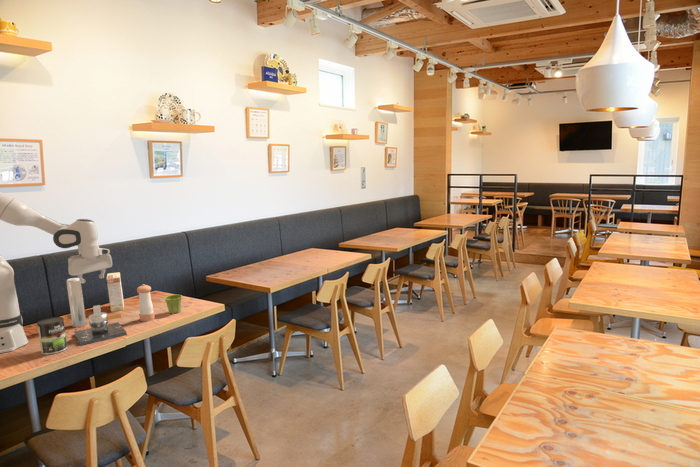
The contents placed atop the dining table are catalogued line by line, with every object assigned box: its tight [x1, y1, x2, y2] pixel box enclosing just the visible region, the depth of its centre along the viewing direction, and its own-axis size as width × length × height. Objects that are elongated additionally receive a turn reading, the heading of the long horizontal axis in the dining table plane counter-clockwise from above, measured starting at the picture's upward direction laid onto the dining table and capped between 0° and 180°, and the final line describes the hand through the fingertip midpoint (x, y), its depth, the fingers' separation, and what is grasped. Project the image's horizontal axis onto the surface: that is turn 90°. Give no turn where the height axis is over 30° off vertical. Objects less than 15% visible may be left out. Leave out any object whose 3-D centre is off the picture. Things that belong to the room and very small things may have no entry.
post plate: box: [74, 321, 128, 346], centre depth 234 cm, size 20×19×5 cm
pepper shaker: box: [136, 283, 156, 322], centre depth 253 cm, size 7×7×19 cm
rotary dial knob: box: [88, 304, 122, 328], centre depth 234 cm, size 14×10×9 cm
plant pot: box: [163, 294, 183, 314], centre depth 264 cm, size 9×9×9 cm
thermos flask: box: [66, 277, 87, 328], centre depth 248 cm, size 6×6×25 cm
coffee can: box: [36, 316, 68, 356], centre depth 215 cm, size 10×10×14 cm
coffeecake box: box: [106, 271, 125, 313], centre depth 277 cm, size 15×7×20 cm, turn 25°
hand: (92, 280), depth 230 cm, fingers open, 8 cm apart
